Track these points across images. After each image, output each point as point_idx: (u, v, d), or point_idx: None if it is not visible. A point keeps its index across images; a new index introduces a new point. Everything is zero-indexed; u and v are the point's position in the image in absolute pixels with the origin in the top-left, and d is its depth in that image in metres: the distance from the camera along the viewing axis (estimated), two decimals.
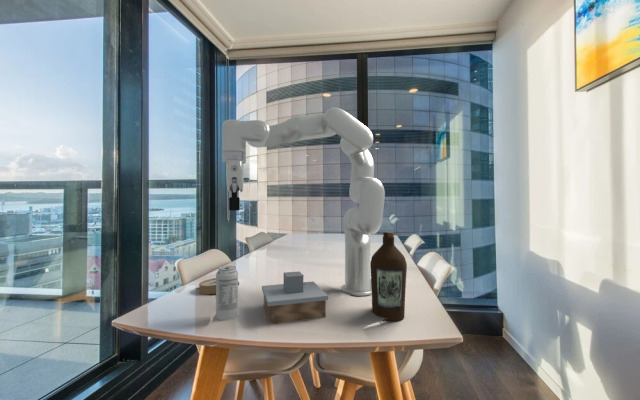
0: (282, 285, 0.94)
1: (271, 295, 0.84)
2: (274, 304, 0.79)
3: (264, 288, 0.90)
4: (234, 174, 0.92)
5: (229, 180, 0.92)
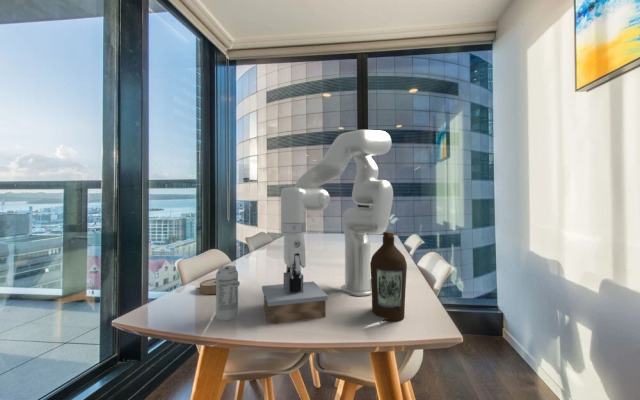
0: (282, 285, 0.94)
1: (271, 295, 0.84)
2: (274, 304, 0.79)
3: (264, 288, 0.90)
4: (297, 250, 0.83)
5: (291, 257, 0.83)
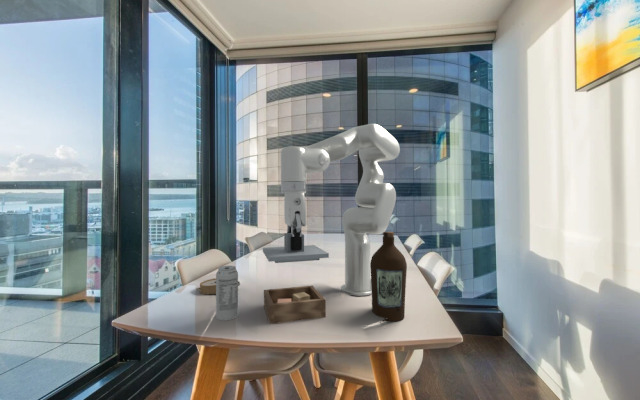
0: (283, 247, 0.94)
1: (272, 253, 0.84)
2: (275, 260, 0.79)
3: (265, 249, 0.90)
4: (297, 207, 0.83)
5: (292, 215, 0.83)
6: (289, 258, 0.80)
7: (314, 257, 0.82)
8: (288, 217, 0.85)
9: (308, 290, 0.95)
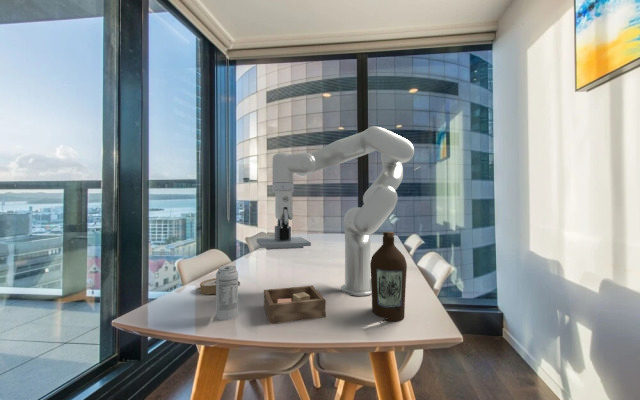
0: (273, 238, 1.11)
1: (264, 241, 1.01)
2: (266, 246, 0.96)
3: (258, 239, 1.07)
4: (285, 204, 1.00)
5: (281, 210, 1.00)
6: (277, 245, 0.97)
7: (298, 245, 0.99)
8: (278, 212, 1.02)
9: (308, 290, 0.95)
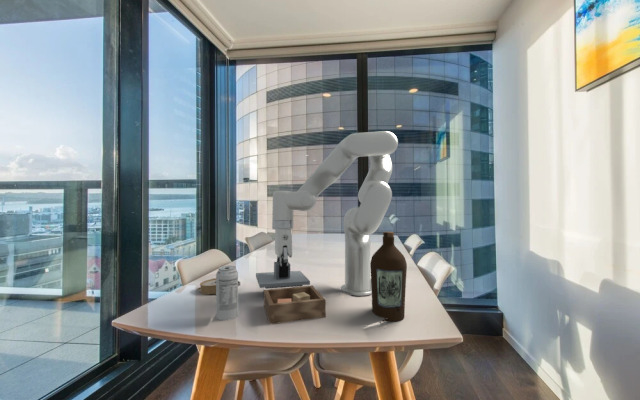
0: (273, 272, 1.11)
1: (263, 279, 1.01)
2: (265, 286, 0.96)
3: (257, 274, 1.07)
4: (285, 242, 1.00)
5: (280, 248, 1.00)
6: (277, 285, 0.97)
7: (297, 284, 0.99)
8: (277, 250, 1.02)
9: (308, 290, 0.95)
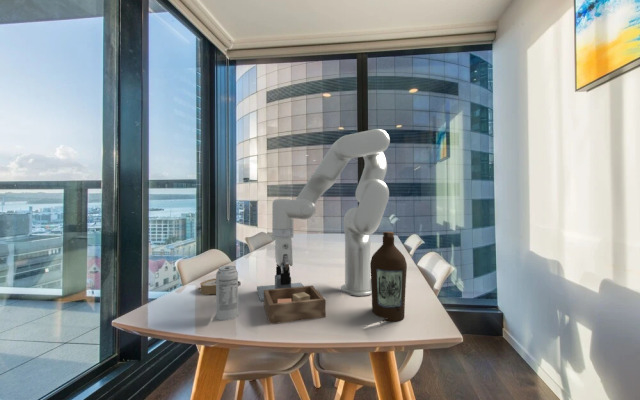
0: (274, 285, 1.11)
1: None
2: None
3: (258, 288, 1.07)
4: (285, 251, 1.00)
5: (281, 257, 1.00)
6: None
7: None
8: (277, 258, 1.02)
9: (308, 290, 0.95)
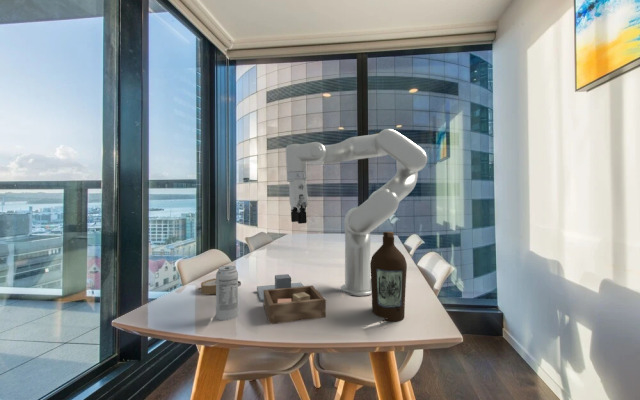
0: (274, 285, 1.11)
1: None
2: None
3: (258, 288, 1.07)
4: (301, 191, 1.06)
5: (297, 197, 1.06)
6: None
7: None
8: (294, 200, 1.07)
9: (308, 290, 0.95)
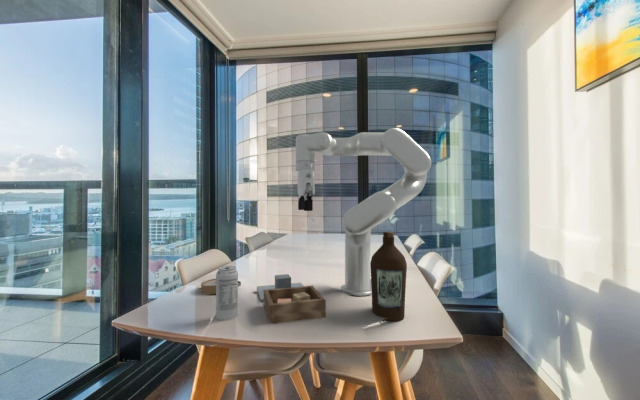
0: (274, 285, 1.11)
1: None
2: None
3: (258, 288, 1.07)
4: (308, 180, 1.10)
5: (304, 185, 1.10)
6: None
7: None
8: (301, 188, 1.11)
9: (308, 290, 0.95)
